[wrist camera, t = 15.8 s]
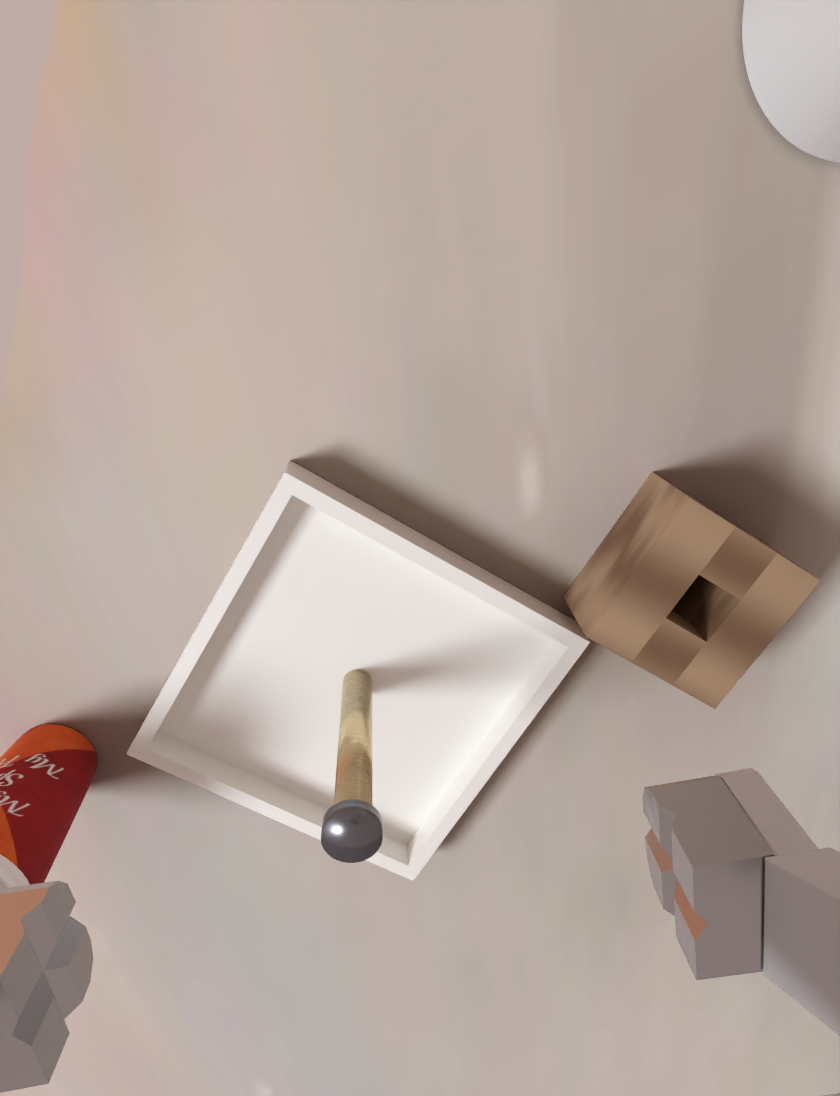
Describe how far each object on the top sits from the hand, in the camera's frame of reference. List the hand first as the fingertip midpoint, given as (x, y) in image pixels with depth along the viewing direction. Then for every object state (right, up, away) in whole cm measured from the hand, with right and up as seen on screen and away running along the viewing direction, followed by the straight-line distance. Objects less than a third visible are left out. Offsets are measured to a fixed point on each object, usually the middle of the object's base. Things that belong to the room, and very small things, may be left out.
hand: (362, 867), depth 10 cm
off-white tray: (-4, -4, +41) cm, 41 cm away
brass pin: (-3, -5, +40) cm, 40 cm away
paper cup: (-25, -10, +42) cm, 50 cm away
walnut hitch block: (+17, +3, +39) cm, 43 cm away
